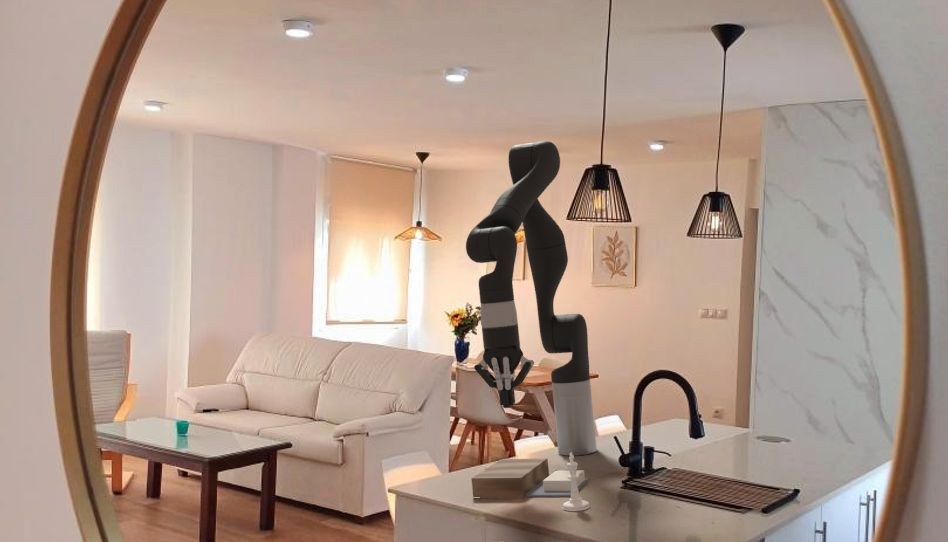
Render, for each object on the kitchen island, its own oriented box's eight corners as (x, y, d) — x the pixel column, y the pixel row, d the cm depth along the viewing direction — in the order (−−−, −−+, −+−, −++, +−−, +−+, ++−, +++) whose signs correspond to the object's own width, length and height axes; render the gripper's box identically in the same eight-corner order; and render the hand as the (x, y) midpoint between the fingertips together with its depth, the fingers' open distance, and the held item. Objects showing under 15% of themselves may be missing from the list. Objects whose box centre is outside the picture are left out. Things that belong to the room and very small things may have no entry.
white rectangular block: (583, 470, 185) (584, 480, 184) (555, 470, 187) (556, 480, 187) (571, 480, 176) (572, 490, 176) (542, 480, 178) (543, 490, 178)
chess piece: (559, 511, 163) (553, 456, 163) (567, 504, 168) (562, 450, 168) (585, 511, 161) (580, 455, 161) (593, 504, 166) (587, 450, 166)
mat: (545, 480, 190) (545, 478, 190) (589, 479, 186) (589, 477, 186) (524, 496, 176) (524, 494, 176) (571, 496, 173) (571, 494, 173)
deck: (503, 477, 196) (501, 459, 196) (549, 477, 192) (547, 458, 192) (473, 498, 179) (471, 478, 179) (523, 498, 176) (521, 477, 176)
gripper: (535, 320, 187) (544, 402, 187) (476, 324, 192) (484, 405, 192) (524, 323, 180) (533, 409, 180) (463, 328, 185) (471, 412, 185)
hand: (508, 407), depth 186 cm, fingers closed
